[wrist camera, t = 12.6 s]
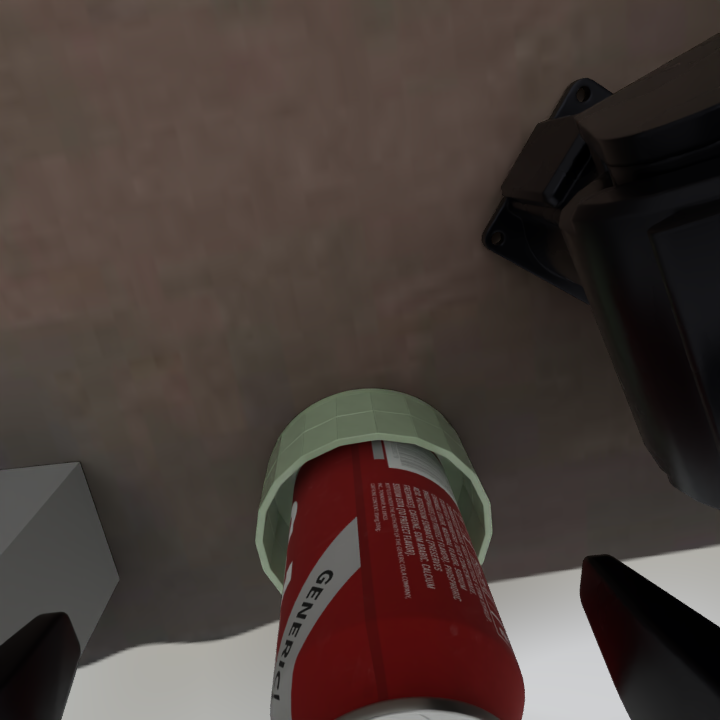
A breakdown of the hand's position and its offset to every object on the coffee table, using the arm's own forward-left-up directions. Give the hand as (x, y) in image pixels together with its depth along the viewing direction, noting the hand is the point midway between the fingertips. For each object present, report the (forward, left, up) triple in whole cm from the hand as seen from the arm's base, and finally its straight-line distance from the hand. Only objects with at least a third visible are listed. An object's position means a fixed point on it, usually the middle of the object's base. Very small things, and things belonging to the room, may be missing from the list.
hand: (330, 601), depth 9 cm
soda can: (-4, +5, -13) cm, 14 cm away
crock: (-4, +5, -13) cm, 15 cm away
